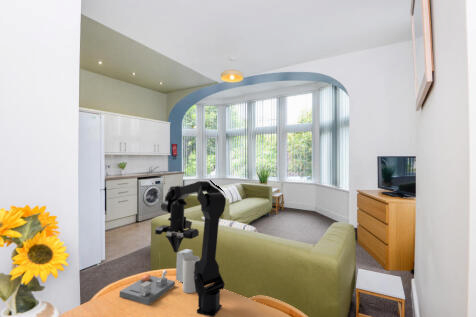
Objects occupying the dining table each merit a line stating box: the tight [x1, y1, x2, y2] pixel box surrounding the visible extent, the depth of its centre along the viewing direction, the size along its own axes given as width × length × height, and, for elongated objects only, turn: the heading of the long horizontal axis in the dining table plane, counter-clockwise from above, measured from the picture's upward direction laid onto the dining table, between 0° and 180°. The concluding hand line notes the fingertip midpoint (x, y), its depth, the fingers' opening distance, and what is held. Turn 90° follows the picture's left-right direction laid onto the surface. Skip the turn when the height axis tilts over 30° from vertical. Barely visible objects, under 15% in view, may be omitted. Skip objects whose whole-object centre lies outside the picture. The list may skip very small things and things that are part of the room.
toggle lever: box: [159, 269, 168, 284], centre depth 87 cm, size 2×2×6 cm
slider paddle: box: [140, 281, 152, 296], centre depth 80 cm, size 2×3×4 cm
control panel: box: [119, 275, 176, 306], centre depth 86 cm, size 14×14×4 cm
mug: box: [182, 255, 201, 294], centre depth 90 cm, size 10×7×12 cm, turn 175°
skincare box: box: [175, 248, 194, 283], centre depth 97 cm, size 6×4×12 cm
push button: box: [141, 274, 151, 282], centre depth 90 cm, size 3×3×2 cm
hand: (176, 252), depth 93 cm, fingers closed
